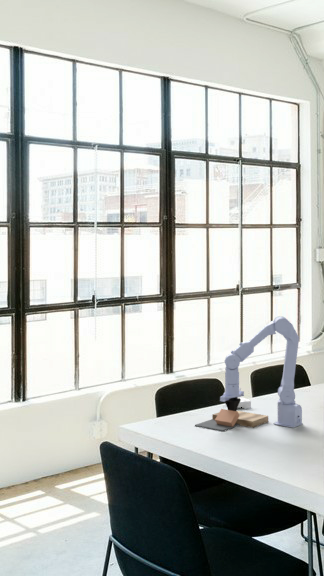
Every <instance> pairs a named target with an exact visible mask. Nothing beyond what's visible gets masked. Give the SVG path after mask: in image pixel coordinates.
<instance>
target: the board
mask: <svg viewBox="0 0 324 576" xmlns="http://www.w3.org/2000/svg"><path fill="white" fill-rule="evenodd" d="M219 412H220V411H218V412H216V413H213V414H212V415H211V416H212V417H211V418H212V419H213V420H215V418H216V417H217V415H218V414H219ZM237 412H238V413H239V415H240V416H239V418H238V419H237V421H236V424H240V426H241V427H242V426H243V427H248V428H255V427H258V426H261V425H264V424H266V423H268V422H269V415H264V414H259V413H255V412H254V413H252V412H247V411H241V410H237Z"/></svg>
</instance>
